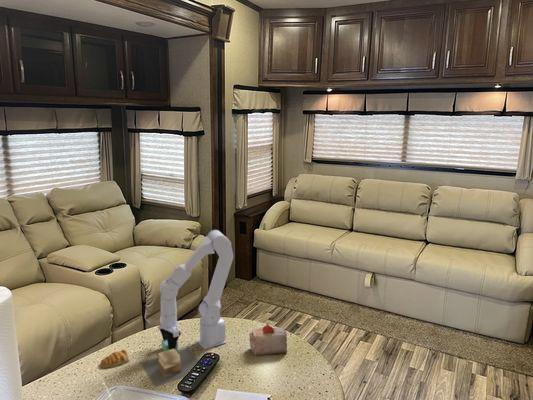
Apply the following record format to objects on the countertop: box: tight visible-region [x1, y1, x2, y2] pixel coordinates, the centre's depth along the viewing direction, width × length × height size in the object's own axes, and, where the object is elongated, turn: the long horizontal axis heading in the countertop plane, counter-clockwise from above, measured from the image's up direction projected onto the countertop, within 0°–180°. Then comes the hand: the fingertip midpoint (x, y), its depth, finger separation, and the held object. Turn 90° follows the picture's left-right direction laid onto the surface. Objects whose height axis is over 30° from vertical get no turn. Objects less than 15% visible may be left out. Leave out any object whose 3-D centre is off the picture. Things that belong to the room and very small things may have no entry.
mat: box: [140, 348, 200, 388], centre depth 142 cm, size 18×16×1 cm
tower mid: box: [158, 349, 180, 369], centre depth 138 cm, size 6×6×3 cm
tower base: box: [158, 361, 181, 378], centre depth 139 cm, size 6×6×3 cm
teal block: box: [161, 339, 179, 352], centre depth 152 cm, size 4×4×4 cm
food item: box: [249, 323, 288, 356], centre depth 152 cm, size 14×8×10 cm, turn 101°
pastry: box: [100, 349, 130, 369], centre depth 143 cm, size 9×7×4 cm
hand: (169, 346), depth 152 cm, fingers closed on teal block, 4 cm apart
